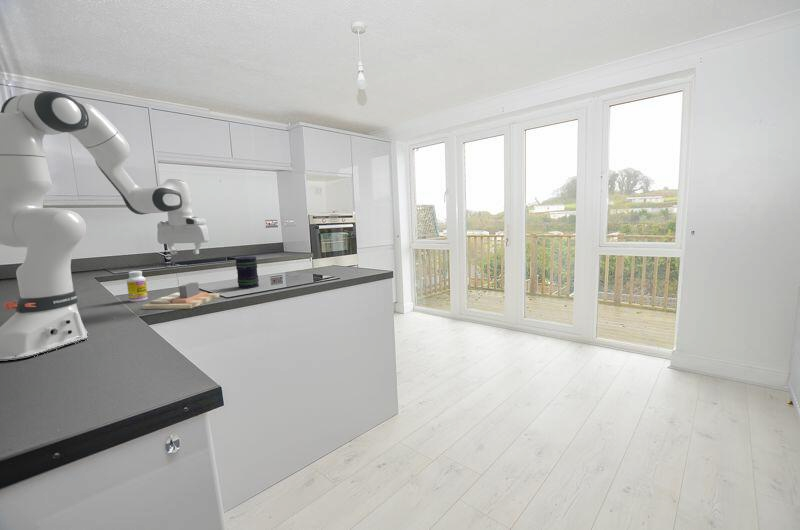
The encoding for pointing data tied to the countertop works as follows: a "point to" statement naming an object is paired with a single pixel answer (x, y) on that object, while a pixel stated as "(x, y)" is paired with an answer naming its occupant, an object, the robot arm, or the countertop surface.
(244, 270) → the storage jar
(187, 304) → the ticket board
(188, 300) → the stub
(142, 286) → the supplement bottle
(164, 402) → the countertop surface
